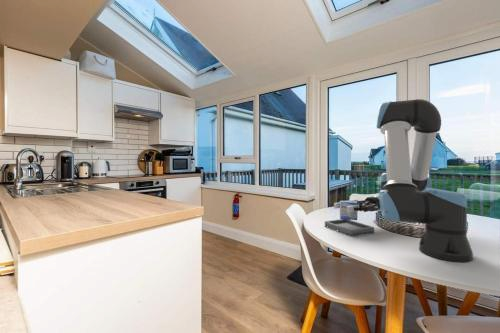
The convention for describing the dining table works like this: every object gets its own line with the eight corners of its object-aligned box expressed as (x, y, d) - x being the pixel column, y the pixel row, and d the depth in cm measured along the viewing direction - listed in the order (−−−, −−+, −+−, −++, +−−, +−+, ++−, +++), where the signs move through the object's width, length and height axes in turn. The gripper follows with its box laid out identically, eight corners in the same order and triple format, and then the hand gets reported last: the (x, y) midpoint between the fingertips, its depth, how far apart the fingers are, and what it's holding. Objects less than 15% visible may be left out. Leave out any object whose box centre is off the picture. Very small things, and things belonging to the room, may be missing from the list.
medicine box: (340, 219, 117) (340, 201, 117) (339, 217, 121) (339, 200, 121) (357, 220, 115) (357, 202, 115) (356, 218, 119) (356, 200, 119)
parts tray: (374, 232, 112) (374, 227, 112) (351, 236, 107) (351, 230, 107) (345, 223, 129) (345, 218, 129) (324, 226, 124) (324, 221, 124)
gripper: (393, 215, 115) (357, 220, 107) (359, 206, 134) (326, 210, 126) (393, 199, 115) (357, 203, 106) (359, 193, 134) (326, 196, 126)
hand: (340, 207), depth 116 cm, fingers closed on medicine box, 8 cm apart
